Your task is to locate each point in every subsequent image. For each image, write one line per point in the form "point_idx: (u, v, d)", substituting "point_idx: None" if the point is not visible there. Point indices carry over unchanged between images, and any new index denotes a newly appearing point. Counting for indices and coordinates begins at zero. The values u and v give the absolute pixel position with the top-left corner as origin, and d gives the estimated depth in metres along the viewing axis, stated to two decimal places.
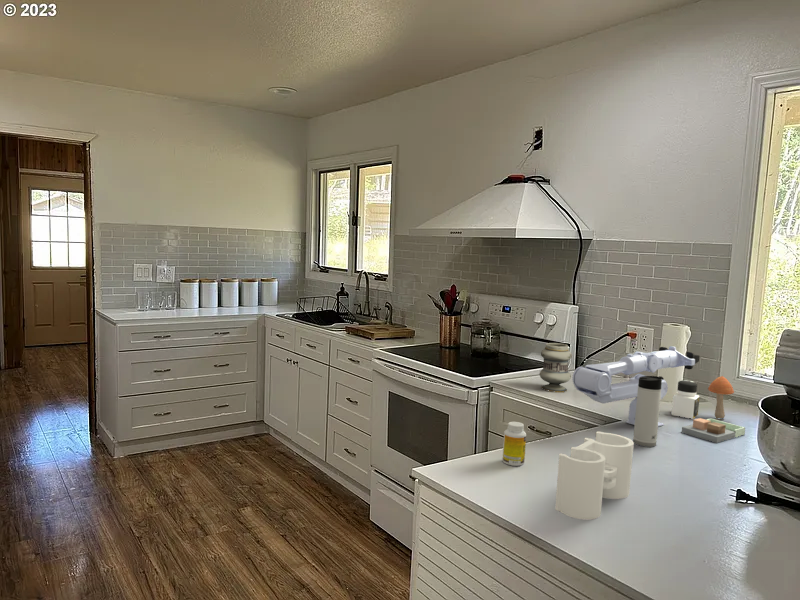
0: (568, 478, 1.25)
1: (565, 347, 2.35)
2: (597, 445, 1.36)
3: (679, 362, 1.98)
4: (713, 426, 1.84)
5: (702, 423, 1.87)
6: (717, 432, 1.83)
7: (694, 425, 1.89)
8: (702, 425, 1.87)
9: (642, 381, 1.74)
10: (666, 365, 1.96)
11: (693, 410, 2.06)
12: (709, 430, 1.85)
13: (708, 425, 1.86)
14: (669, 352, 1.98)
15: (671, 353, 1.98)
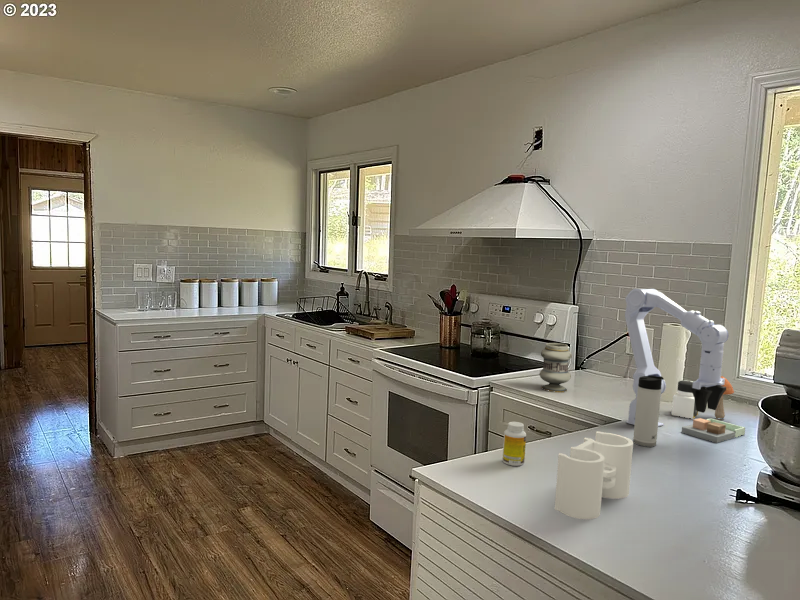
0: (567, 478, 1.26)
1: (565, 347, 2.35)
2: (597, 445, 1.36)
3: (701, 381, 1.79)
4: (713, 426, 1.84)
5: (702, 423, 1.87)
6: (717, 432, 1.83)
7: (694, 425, 1.89)
8: (702, 425, 1.87)
9: (642, 381, 1.74)
10: (702, 360, 1.79)
11: (693, 410, 2.06)
12: (709, 430, 1.85)
13: (708, 425, 1.86)
14: (716, 371, 1.77)
15: (715, 374, 1.77)
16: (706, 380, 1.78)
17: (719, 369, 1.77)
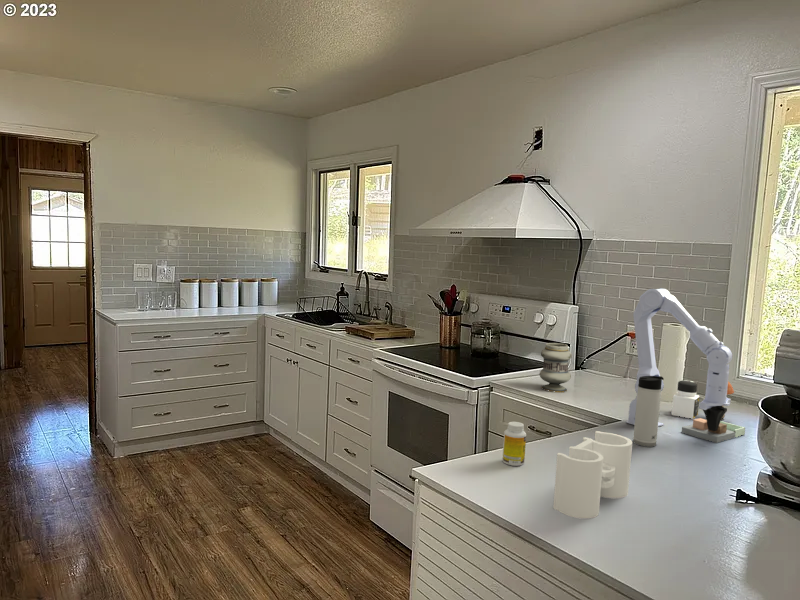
0: (566, 477, 1.26)
1: (565, 347, 2.35)
2: (596, 444, 1.37)
3: (707, 401, 1.82)
4: None
5: (702, 423, 1.87)
6: (718, 432, 1.84)
7: (694, 425, 1.89)
8: (702, 425, 1.87)
9: (642, 381, 1.74)
10: (710, 381, 1.82)
11: (693, 410, 2.06)
12: None
13: None
14: (722, 392, 1.80)
15: (721, 395, 1.80)
16: (712, 401, 1.81)
17: (725, 390, 1.81)
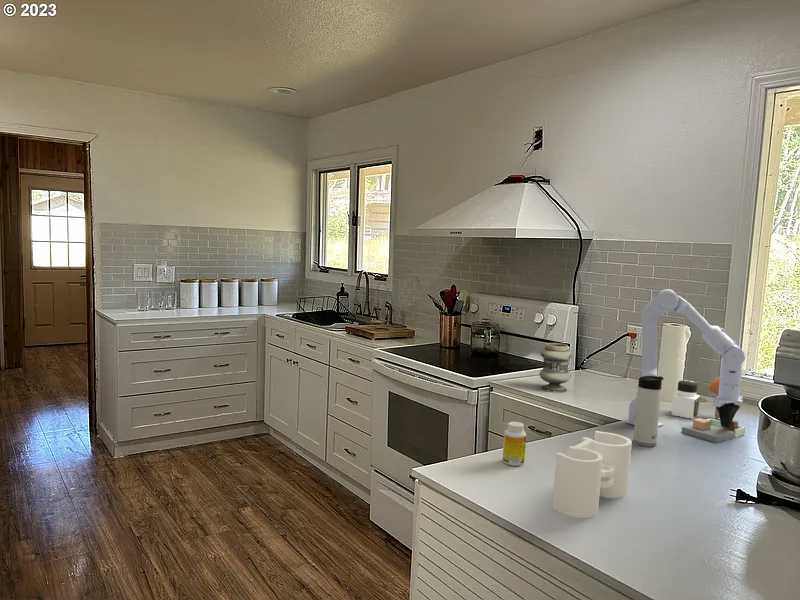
0: (565, 477, 1.26)
1: (565, 347, 2.35)
2: (595, 444, 1.37)
3: (720, 398, 1.87)
4: (732, 420, 1.91)
5: (702, 423, 1.87)
6: (734, 421, 1.89)
7: (694, 425, 1.89)
8: (702, 425, 1.87)
9: (642, 381, 1.74)
10: (726, 380, 1.86)
11: (693, 410, 2.06)
12: None
13: None
14: (735, 390, 1.85)
15: (734, 392, 1.85)
16: (725, 398, 1.86)
17: (738, 387, 1.85)
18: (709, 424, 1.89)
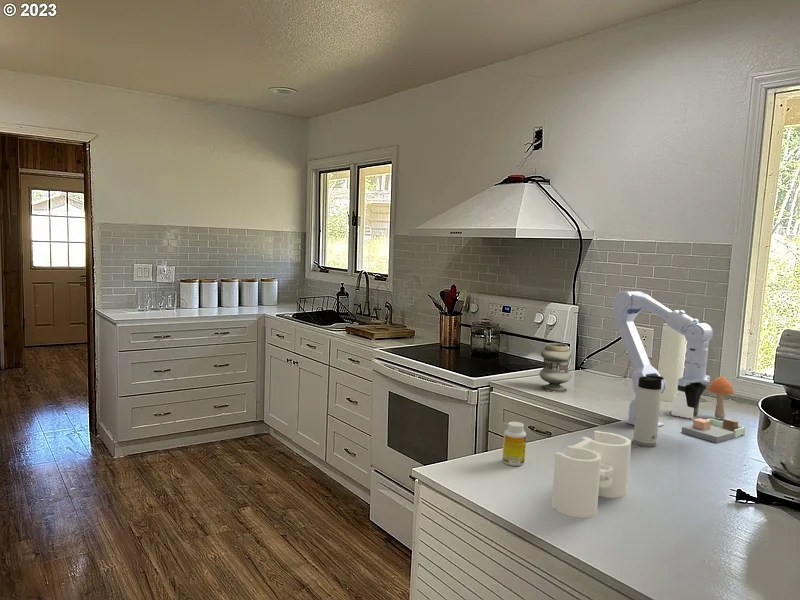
0: (564, 476, 1.26)
1: (565, 347, 2.35)
2: (594, 444, 1.37)
3: (686, 378, 1.83)
4: (732, 420, 1.91)
5: (702, 423, 1.87)
6: (734, 421, 1.89)
7: (694, 425, 1.89)
8: (702, 425, 1.87)
9: (642, 381, 1.74)
10: (687, 358, 1.83)
11: (693, 410, 2.06)
12: (726, 419, 1.91)
13: (727, 418, 1.92)
14: (701, 369, 1.81)
15: (700, 371, 1.81)
16: (691, 377, 1.82)
17: (704, 366, 1.81)
18: (709, 424, 1.89)
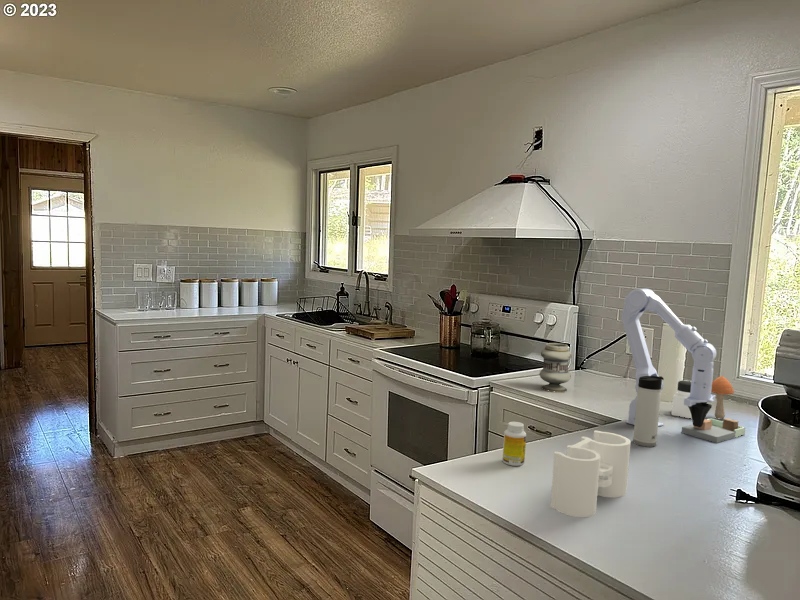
0: (563, 476, 1.27)
1: (565, 347, 2.35)
2: (594, 444, 1.37)
3: (692, 398, 1.86)
4: (732, 420, 1.91)
5: (703, 423, 1.87)
6: (734, 421, 1.89)
7: None
8: (703, 425, 1.87)
9: (642, 381, 1.74)
10: (695, 378, 1.85)
11: None
12: (726, 419, 1.91)
13: (727, 418, 1.92)
14: (706, 389, 1.84)
15: (705, 391, 1.84)
16: (697, 397, 1.85)
17: (709, 387, 1.84)
18: (710, 424, 1.89)
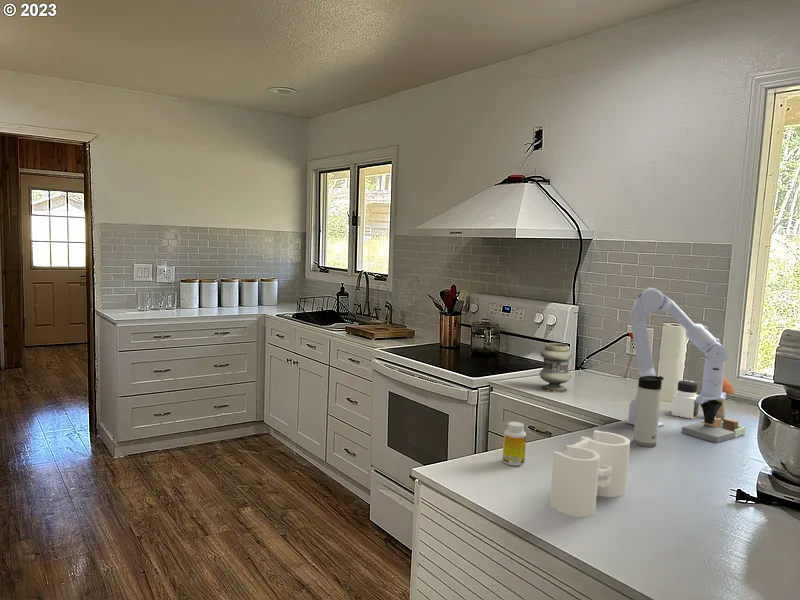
0: (562, 476, 1.27)
1: (565, 347, 2.35)
2: (593, 443, 1.37)
3: (703, 395, 1.90)
4: (732, 420, 1.91)
5: None
6: (734, 421, 1.89)
7: None
8: (713, 422, 1.91)
9: (642, 381, 1.74)
10: (709, 377, 1.88)
11: (693, 410, 2.06)
12: (726, 419, 1.91)
13: (727, 418, 1.92)
14: (718, 387, 1.88)
15: (716, 389, 1.88)
16: (708, 395, 1.89)
17: (721, 384, 1.88)
18: (719, 422, 1.92)
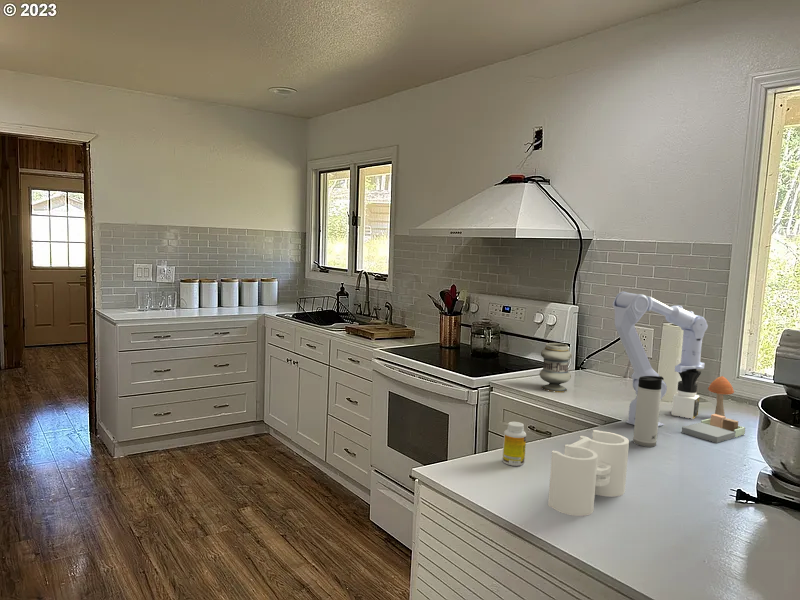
0: (560, 475, 1.27)
1: (565, 347, 2.35)
2: (592, 443, 1.38)
3: (682, 365, 1.98)
4: (732, 420, 1.91)
5: (723, 416, 1.94)
6: (734, 421, 1.89)
7: (713, 414, 1.96)
8: (722, 416, 1.94)
9: (642, 381, 1.74)
10: (693, 348, 1.96)
11: (693, 410, 2.06)
12: (726, 419, 1.91)
13: (727, 418, 1.92)
14: (696, 356, 1.96)
15: (695, 358, 1.96)
16: (687, 364, 1.97)
17: (698, 354, 1.97)
18: None
